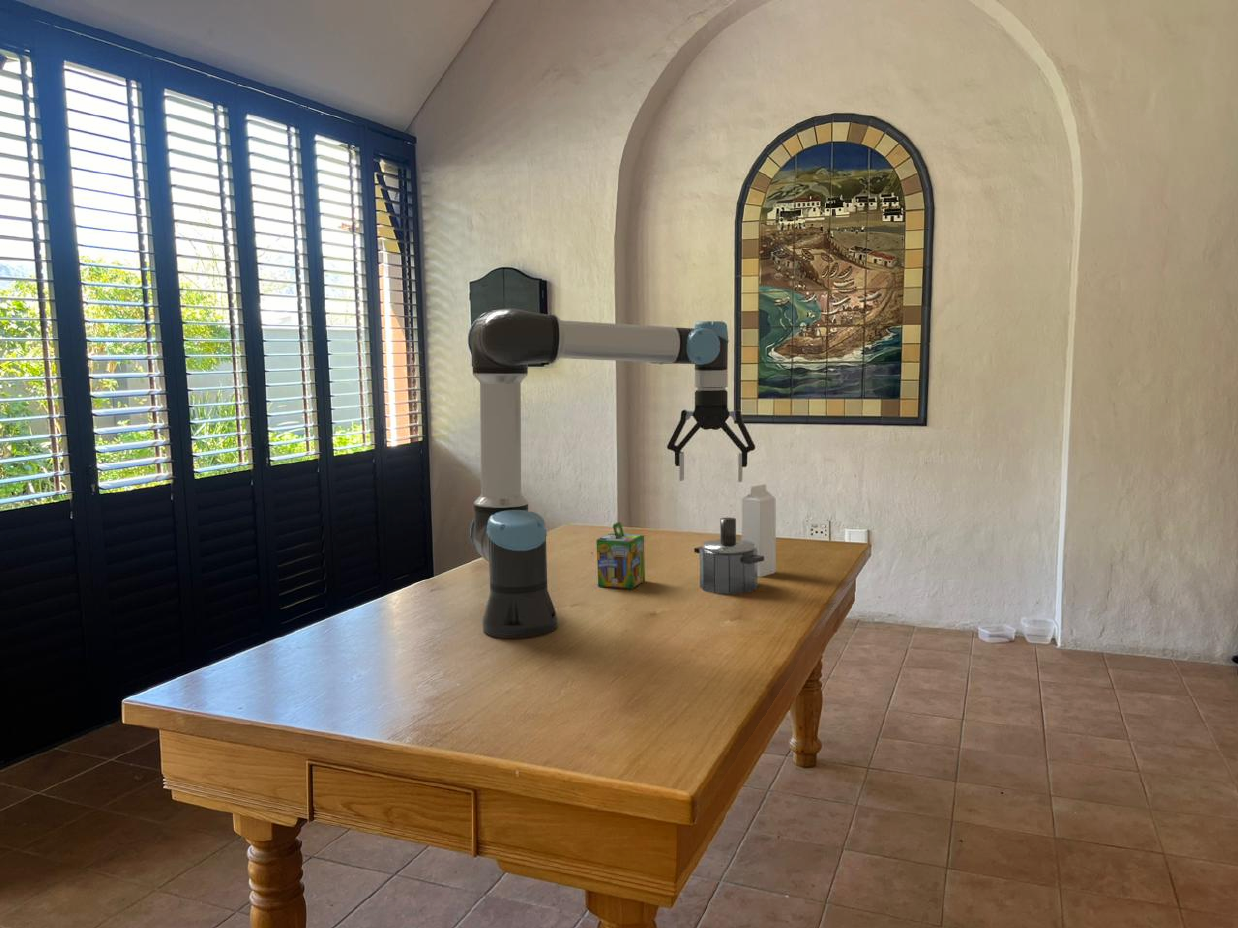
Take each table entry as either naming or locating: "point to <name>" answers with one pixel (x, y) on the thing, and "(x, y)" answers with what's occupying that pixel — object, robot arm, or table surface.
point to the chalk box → (620, 559)
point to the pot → (728, 572)
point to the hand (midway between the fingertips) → (710, 480)
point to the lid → (728, 541)
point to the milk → (760, 527)
